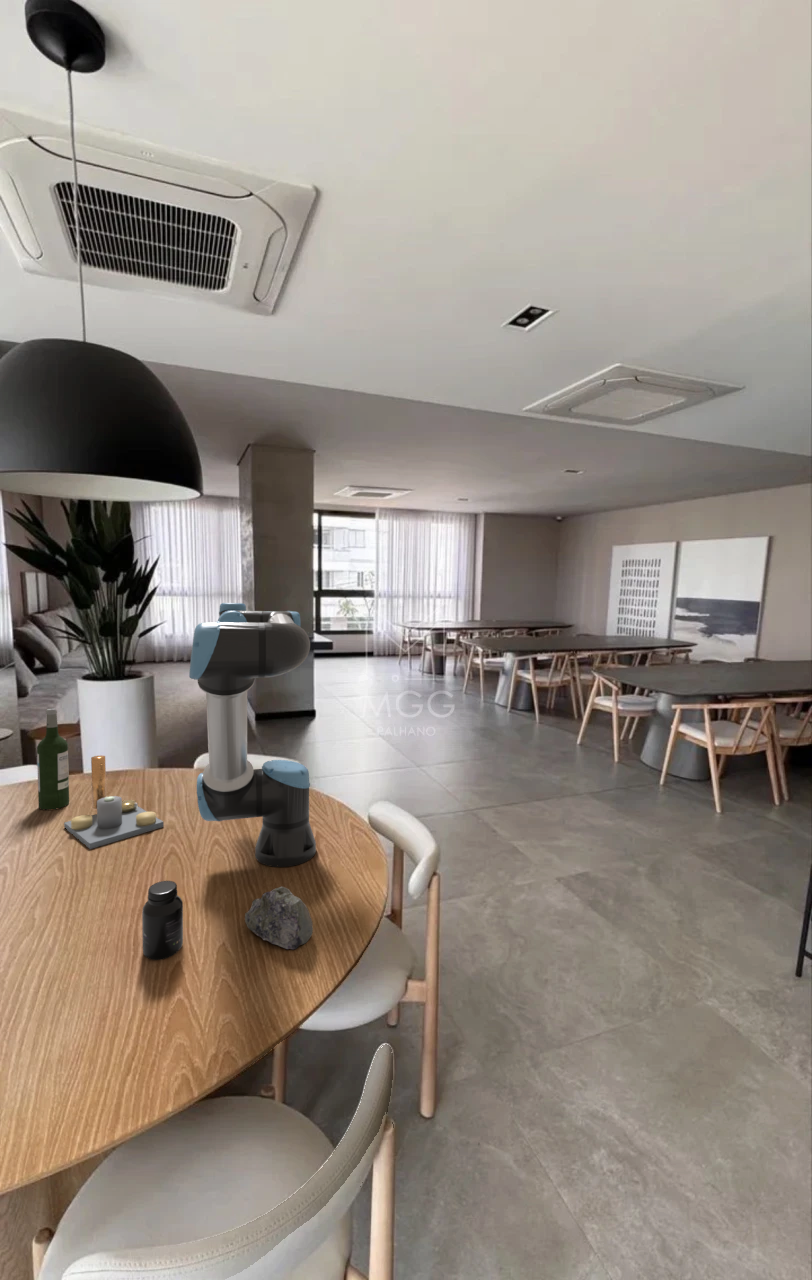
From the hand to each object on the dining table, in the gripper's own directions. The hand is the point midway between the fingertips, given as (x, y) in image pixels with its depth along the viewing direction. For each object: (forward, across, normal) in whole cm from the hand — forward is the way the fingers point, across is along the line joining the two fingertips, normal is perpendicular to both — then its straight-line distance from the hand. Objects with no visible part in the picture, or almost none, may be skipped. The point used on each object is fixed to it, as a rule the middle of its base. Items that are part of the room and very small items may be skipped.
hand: (233, 734), depth 161 cm
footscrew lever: (+23, +9, +33) cm, 41 cm away
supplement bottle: (+25, -62, +14) cm, 68 cm away
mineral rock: (+25, -64, -7) cm, 69 cm away
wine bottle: (+25, +22, +52) cm, 62 cm away
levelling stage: (+24, -1, +32) cm, 40 cm away
